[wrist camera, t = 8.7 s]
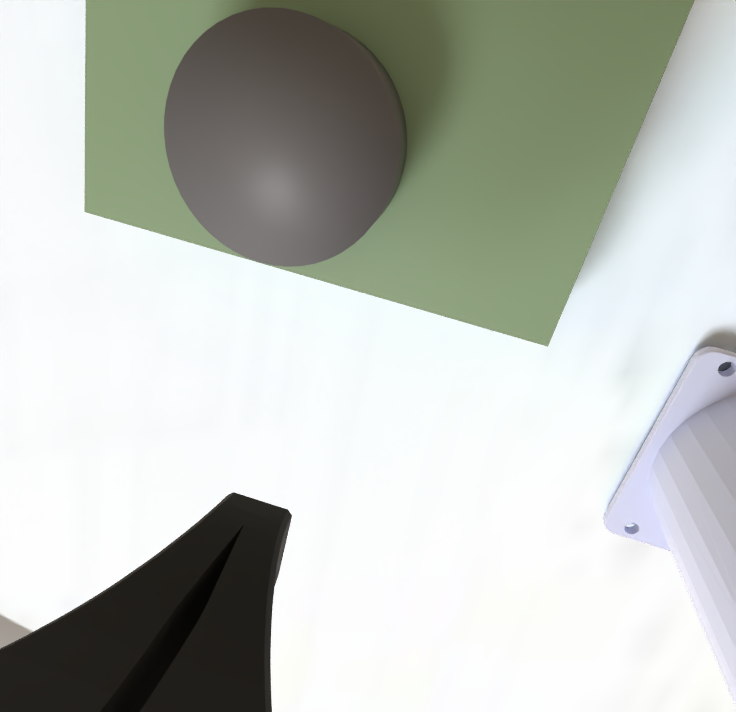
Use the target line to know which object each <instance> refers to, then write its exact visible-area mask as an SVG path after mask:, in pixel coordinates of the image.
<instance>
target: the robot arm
mask: <svg viewBox="0 0 736 712" xmlns="http://www.w3.org/2000/svg"><path fill="white" fill-rule="evenodd" d="M725 362H732V363H731V367H730V368H729V369H728V370H725V371H718V368H719V366H720V365H721V364H722V363H725ZM291 517H292V515H291V514H290V512H289V511H288V510H287V509H284V508H281V507H278V506H274V505H271V504H268V503H265V502H262V501H259V500H256V499H253V498H249V497H246V496H243V495H240V494H237V493H231V494H229V495H228V496H226V497H225V498H224V499H223V500H222V501H221V502H220V503H219V504H218V505H217V506H216V507H214V508H213V509H212V510H211V511H210V512H209V513H208V514H207V515H205V516H204V517H203V518H202V519H201V520H200V521H198V522H197V523H196V524H195V525H194V526H192V527H191V528H190V529H189V530H187V531H186V532H185V533H184V534H182V535H181V536H180V537H179V538H177V539H176V540H175V541H173V542H172V543H171V544H170V545H168V546H167V547H166V548H164V549H163V550H162V551H161V552H159V553H158V554H157V555H155V556H154V557H153V558H151V559H150V560H148V561H147V562H146V563H144V564H143V565H141V566H140V567H138V568H137V569H136V570H134V571H133V572H131V573H130V574H128V575H127V576H125V577H124V578H123V579H121V580H120V581H118V582H117V583H115V584H114V585H112V586H111V587H109V588H108V589H106V590H105V591H103V592H101V593H100V594H98V595H97V596H95V597H93V598H92V599H90V600H89V601H87V602H85V603H84V604H82V605H80V606H79V607H77V608H75V609H73V610H72V611H70V612H68V613H67V614H65V615H63V616H61V617H60V618H58V619H56V620H54V621H52V622H50V623H49V624H47V625H45V626H43V627H41V628H39V629H38V630H36V631H34V632H32V633H30V634H28V635H27V636H25V637H23V638H21V639H19V640H17V641H15V642H13V643H11V644H9V645H7V646H5V647H3V648H1V649H0V712H272V706H271V674H270V647H271V619H272V604H273V594H274V586H275V583H276V580H277V577H278V574H279V570H280V565H281V561H282V557H283V552H284V548H285V543H286V539H287V535H288V530H289V526H290V522H291ZM603 521H604V525H605V528H606V529H607V530H608V531H609V532H611V533H613V534H617V535H620V536H623V537H626V538H630V539H633V540H636V541H639V542H642V543H646V544H649V545H652V546H655V547H659V548H662V549H665V550H668V551H671V552H672V555H673V557H674V560H675V562H676V564H677V567H678V569H679V572H680V574H681V576H682V579H683V581H684V584H685V586H686V588H687V591H688V593H689V596H690V598H691V600H692V603H693V605H694V608H695V610H696V612H697V615H698V617H699V620H700V622H701V625H702V627H703V629H704V632H705V634H706V637H707V639H708V641H709V644H710V646H711V649H712V651H713V653H714V656H715V658H716V661H717V663H718V665H719V668H720V670H721V673H722V675H723V677H724V680H725V682H726V685H727V687H728V689H729V692H730V694H731V697H732V699H733V701H734V704H735V706H736V353H735V352H731V351H728V350H724V349H721V348H717V347H711V346H708V347H704V348H701V349H699V350H698V351H696V352H695V354H694V355H693V356H692V358H691V360H690V361H689V363H688V365H687V367H686V369H685V370H684V372H683V374H682V376H681V378H680V379H679V381H678V383H677V385H676V386H675V388H674V390H673V392H672V394H671V395H670V397H669V399H668V401H667V403H666V404H665V406H664V408H663V410H662V412H661V413H660V415H659V417H658V419H657V420H656V422H655V424H654V426H653V428H652V429H651V431H650V433H649V435H648V437H647V438H646V440H645V442H644V444H643V445H642V447H641V449H640V451H639V453H638V454H637V456H636V458H635V460H634V462H633V463H632V465H631V467H630V469H629V471H628V472H627V474H626V476H625V478H624V479H623V481H622V483H621V485H620V487H619V488H618V490H617V492H616V494H615V496H614V497H613V499H612V501H611V503H610V504H609V506H608V508H607V510H606V512H605V513H604V516H603ZM629 523H635V525H634V526H632V527H626V525H627V524H629Z"/></svg>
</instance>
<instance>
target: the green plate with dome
mask: <svg viewBox="0 0 736 712" xmlns="http://www.w3.org/2000/svg"><path fill="white" fill-rule="evenodd" d="M693 3H694V0H86V62H85V212H87V213H91V214H94V215H97V216H101V217H104V218H108V219H111V220H115V221H118V222H121V223H125V224H128V225H132V226H135V227H139V228H142V229H146V230H149V231H152V232H156V233H159V234H163V235H166V236H170V237H173V238H177V239H180V240H183V241H187V242H190V243H194V244H197V245H201V246H204V247H207V248H211V249H214V250H218V251H221V252H225V253H228V254H232V255H235V256H238V257H242V258H245V259H249V260H252V261H256V262H259V263H263V264H266V265H269V266H273V267H276V268H280V269H283V270H287V271H290V272H293V273H297V274H300V275H304V276H307V277H311V278H314V279H318V280H321V281H324V282H328V283H331V284H335V285H338V286H342V287H345V288H349V289H352V290H355V291H359V292H362V293H366V294H369V295H373V296H376V297H379V298H383V299H386V300H390V301H393V302H397V303H400V304H404V305H407V306H410V307H414V308H417V309H421V310H424V311H428V312H431V313H435V314H438V315H441V316H445V317H448V318H452V319H455V320H459V321H462V322H465V323H469V324H472V325H476V326H479V327H483V328H486V329H490V330H493V331H496V332H500V333H503V334H507V335H510V336H514V337H517V338H521V339H524V340H527V341H531V342H534V343H538V344H541V345H545V346H548V345H549V342H550V340H551V338H552V335H553V333H554V331H555V328H556V326H557V324H558V321H559V319H560V316H561V314H562V312H563V309H564V307H565V305H566V302H567V300H568V298H569V295H570V293H571V290H572V288H573V286H574V283H575V281H576V279H577V276H578V274H579V272H580V269H581V267H582V265H583V262H584V260H585V257H586V255H587V253H588V250H589V248H590V246H591V243H592V241H593V239H594V236H595V234H596V232H597V229H598V227H599V224H600V222H601V220H602V217H603V215H604V213H605V210H606V208H607V206H608V203H609V201H610V198H611V196H612V194H613V191H614V189H615V187H616V184H617V182H618V180H619V177H620V175H621V173H622V170H623V168H624V165H625V163H626V161H627V158H628V156H629V154H630V151H631V149H632V147H633V144H634V142H635V140H636V137H637V135H638V132H639V130H640V128H641V125H642V123H643V121H644V118H645V116H646V114H647V111H648V109H649V106H650V104H651V102H652V99H653V97H654V95H655V92H656V90H657V88H658V85H659V83H660V81H661V78H662V76H663V73H664V71H665V69H666V66H667V64H668V62H669V59H670V57H671V55H672V52H673V50H674V48H675V45H676V43H677V40H678V38H679V36H680V33H681V31H682V29H683V26H684V24H685V22H686V19H687V17H688V14H689V12H690V10H691V7H692V5H693Z"/></svg>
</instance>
